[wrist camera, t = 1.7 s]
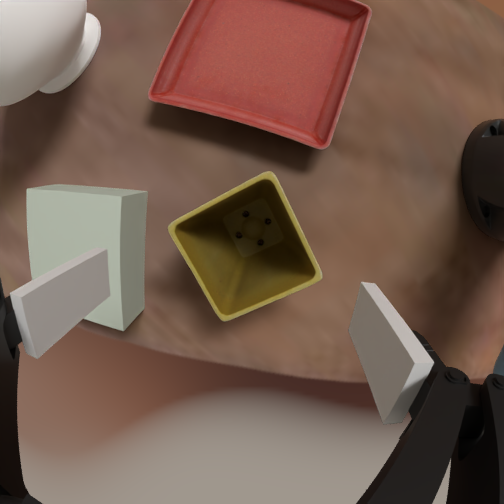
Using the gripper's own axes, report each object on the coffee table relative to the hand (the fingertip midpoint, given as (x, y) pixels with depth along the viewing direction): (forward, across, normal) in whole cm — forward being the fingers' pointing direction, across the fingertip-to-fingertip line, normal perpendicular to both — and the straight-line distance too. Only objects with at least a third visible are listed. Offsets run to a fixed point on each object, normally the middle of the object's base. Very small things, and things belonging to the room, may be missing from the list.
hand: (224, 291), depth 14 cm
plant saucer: (+16, +1, -19) cm, 25 cm away
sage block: (+16, +19, +4) cm, 25 cm away
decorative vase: (+16, +28, -22) cm, 39 cm away
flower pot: (+16, 0, 0) cm, 16 cm away
